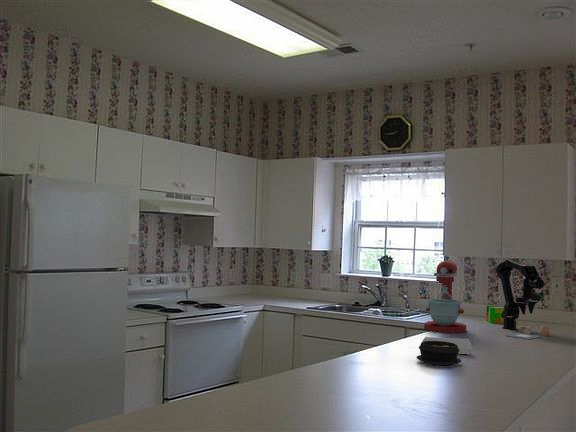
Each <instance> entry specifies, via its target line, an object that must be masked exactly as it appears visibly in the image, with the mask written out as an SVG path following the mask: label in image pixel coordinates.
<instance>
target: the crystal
mask: <svg viewBox="0 0 576 432" xmlns="http://www.w3.org/2000/svg"><path fill="white" fill-rule="evenodd" d="M424 341H444V342H450V343H454V344H456V345H457V346H458V349H459V350H460V351H459V352H458V355H460V354H467V355H466V356H470V354H471V355H472V352H473V349H474V348H473V344H472V343H471V341H470V340H469V338H456V337H454V338H453V337H433V336H425V337H424V338H423V339H422V341H421V342H424Z"/></svg>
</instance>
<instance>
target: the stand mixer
mask: <svg viewBox="0 0 576 432" xmlns="http://www.w3.org/2000/svg"><path fill="white" fill-rule="evenodd" d="M457 270H458V267H457V264H456V263H455V262H453V261H452V260H445V261H441V262H439V263H438V265H437V266H436V272H434V273H433V275H434V276H435V277H436V279H435V280H436V282H438V283H439V284H442V286H441V287H440V288H441V289H442V290H441V292H440V293H439V295H438V296H437V298H431V299H430V298H429V299H427V303H428V306H426V307H425V311H426V312H429V315H430V318H431V319H432V320H429V321H425V322H424V324H423V329H424V330H426V331H428V332H431V331H432V332H433V333H437V332H438V334H461V333H463V334H464V333H466V331H467V325H466V324H465V323H462V322H458V321H457V319H458V317H459V316H460V314H461V315H462V314H464V313H465V309H464V308H462V307H461V305H462V301H460V300H455V299H454V298H453V296H452V295H453V293H452V292H453V291H452V290H453V283H454V282H455V277H457V276H458V272H457ZM432 332H431V333H432Z"/></svg>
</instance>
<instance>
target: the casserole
mask: <svg viewBox="0 0 576 432" xmlns="http://www.w3.org/2000/svg"><path fill="white" fill-rule="evenodd" d="M418 349H419V351H420V354H418V355H417V356H416V357H415V358H416V359H417V360H418V361H421V362H422V363H424V364H427V365H430V364H431V366H435V365H442V366H441V367H449V366H453V365H456V364H459V363H461V362H462V359H460V358H458V356H459V354H458V352H459V351H460V350H459V349H458V346H457V345H456V344H454V343H450V342H444V341H424V342H422V341H421V342H420V345H419V346H418Z"/></svg>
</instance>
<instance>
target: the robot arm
mask: <svg viewBox="0 0 576 432" xmlns="http://www.w3.org/2000/svg"><path fill="white" fill-rule="evenodd" d="M514 269H515V270H517V271H519V273H520V274H521V275H522V276H521V279H522V280H523V281H522V284H523V285H522V288H521V291H522V295H521V296H517V297H515V298H514V294H513V289H512V284H511V279H510V278H511V275H512V271H513V270H514ZM495 273H496V274H497V277H498V278H499V279H500V281H501V286H502V291H503V296H504V301H505V303H504V305H503V307H504V311H503V312H502V314H501V318H504V324H503V326H502V329H505V330H506V329H507V330H517V329H518V327H517V320H518V319H519V316H520V311H521V314H522V315H523V316H524V315H526V310H527V307H528V312H529V314H531V315H533V311H534V308H535V306H536V305H537V304H538V303H539V302H542V301H543V299H544V298H545V294H544V292H542V291H540V292H536V289H538V290H541V289H543V288H544V286H545V283H544V280H543V279H542V276H540V274H539V273H538V270H537V268H536V266H535V265H533V264H524V263H522V262H520V261H517V260H515V259H513V258H511V259H508V258H507V259H505V260H504V261H502V262H501V263H499V264H498V265H497V266H496V267H495ZM514 299H515V300H514Z"/></svg>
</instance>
